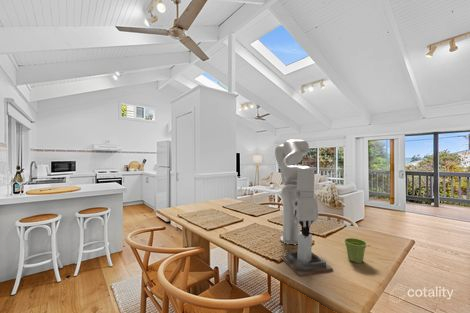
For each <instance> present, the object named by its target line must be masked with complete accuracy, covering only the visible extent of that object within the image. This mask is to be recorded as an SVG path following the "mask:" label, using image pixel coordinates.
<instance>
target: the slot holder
mask: <svg viewBox="0 0 470 313" xmlns="http://www.w3.org/2000/svg"><path fill="white" fill-rule="evenodd" d="M297 255H298V251H291V252H286V253H285V255H281V256H280V258H281V257H282V258H283V260H282V261H283V262H284V263H285V264H286V265H287V266H288V267H289V268H290V269H291V270H292V271H294V273H296V274H297V275H298V276H299V277H304V276H305V277H306V276H310V275H316V274H323V273H328V272H332V271H333V270H334V268H333V267H332V266H330V265H329V264H328V263H327V261H325V260H324V259H323V258H321V257H320V256H318V255H317V254H315V253H314V252H313V251H311V261H310V262H309V263H308V264H301V263H300V262H299V261H297Z"/></svg>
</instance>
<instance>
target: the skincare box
mask: <svg viewBox="0 0 470 313" xmlns="http://www.w3.org/2000/svg"><path fill="white" fill-rule="evenodd" d="M312 236H313V235H312V234H311V233H309V236H304V235H303V234H302V233H300V235H299V236H298V245H297V252H298V255H297V261H299V262H300V263H301V264H308V263H309V262H310V261H311V252H312V249H313V248H312V243H313V240H312V238H313V237H312Z"/></svg>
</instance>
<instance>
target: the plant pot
mask: <svg viewBox="0 0 470 313" xmlns="http://www.w3.org/2000/svg"><path fill="white" fill-rule="evenodd" d="M343 242H344V243H345V246H346V253H347V259H348V261H350V262H354V263H355V264H356V263H357V264H361V263H362V262H364V258H365V251H366V248H367V245H368V243H367V241H365V240H362V239H361V238H360V239H359V238H354V237H347V238H344V240H343Z"/></svg>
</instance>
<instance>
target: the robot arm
mask: <svg viewBox="0 0 470 313" xmlns="http://www.w3.org/2000/svg"><path fill="white" fill-rule="evenodd" d="M309 150H310V146H309V143H308V141H307V140H305V139H289V140H286V141H285V142H283V144H280V145H277V146H276V147H275V151H274V154H275V155H274V156H275V160H276V162H277V164H278V167H279V169H280V175H281V182H282V184H283V185H284V187H282V189H281V200H282V230H281V233H282V235H281V236H280V238H279V239H280V241H282V242H281V243H283V242H285V243H288V244H287V245H289V244H298V236H299V235H300V234H303V235H304V236H309V234H310V227H311V226H312V224H313V223H314V222H317V220H318V219H319V207H318V201H317V197H315V169H314V167H311V166H308V165H298V164H299V163H301V162H302V160H303V157H304V156H306V155H307V154H308V153H309ZM285 243H284V244H285Z"/></svg>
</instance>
